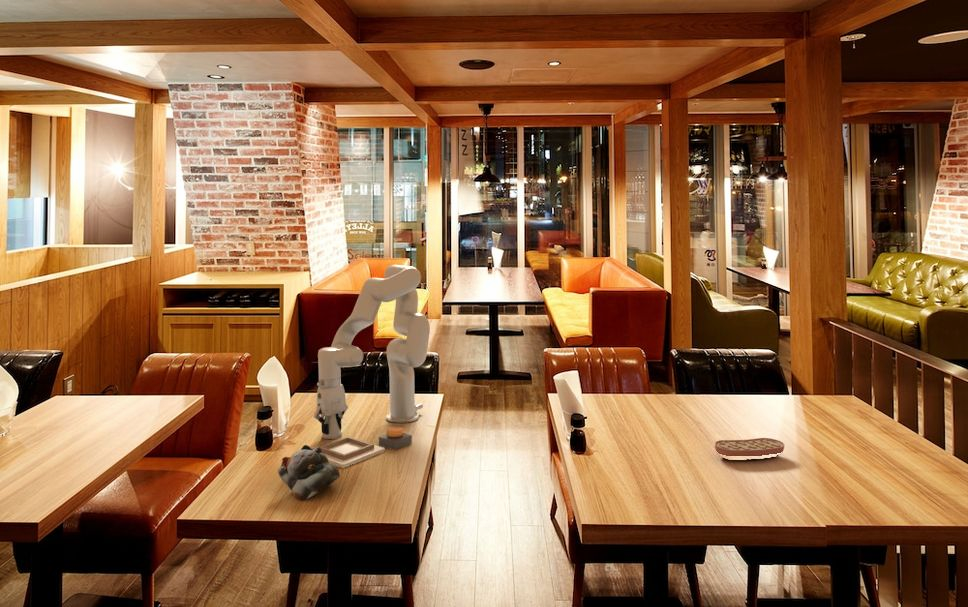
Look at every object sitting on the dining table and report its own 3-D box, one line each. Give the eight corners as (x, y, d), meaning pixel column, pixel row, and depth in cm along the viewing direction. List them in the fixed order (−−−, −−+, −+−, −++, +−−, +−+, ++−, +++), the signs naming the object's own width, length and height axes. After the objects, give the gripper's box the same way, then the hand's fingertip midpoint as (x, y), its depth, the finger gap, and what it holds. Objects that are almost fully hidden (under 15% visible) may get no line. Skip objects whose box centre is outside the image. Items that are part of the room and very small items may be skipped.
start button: (395, 437, 226) (395, 425, 225) (407, 441, 222) (407, 429, 222) (383, 442, 221) (382, 430, 221) (395, 446, 218) (395, 433, 217)
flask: (337, 440, 226) (336, 413, 224) (318, 439, 227) (317, 411, 226) (345, 433, 233) (344, 407, 231) (327, 432, 234) (326, 405, 233)
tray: (349, 440, 226) (348, 432, 226) (384, 451, 215) (384, 443, 215) (307, 455, 212) (306, 447, 211) (343, 468, 201) (343, 460, 201)
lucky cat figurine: (297, 505, 175) (275, 459, 176) (290, 505, 186) (270, 462, 187) (346, 478, 183) (325, 434, 183) (337, 480, 193) (317, 438, 194)
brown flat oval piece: (772, 451, 215) (773, 437, 215) (791, 462, 206) (792, 447, 205) (709, 455, 212) (709, 440, 211) (724, 466, 202) (725, 451, 202)
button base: (395, 438, 227) (395, 430, 227) (411, 443, 223) (411, 435, 222) (378, 445, 221) (378, 436, 221) (395, 450, 216) (395, 441, 216)
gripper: (317, 389, 218) (319, 440, 221) (355, 379, 232) (356, 427, 234) (303, 385, 223) (305, 435, 225) (341, 375, 236) (343, 423, 239)
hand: (331, 431), depth 230 cm, fingers closed on flask, 5 cm apart
